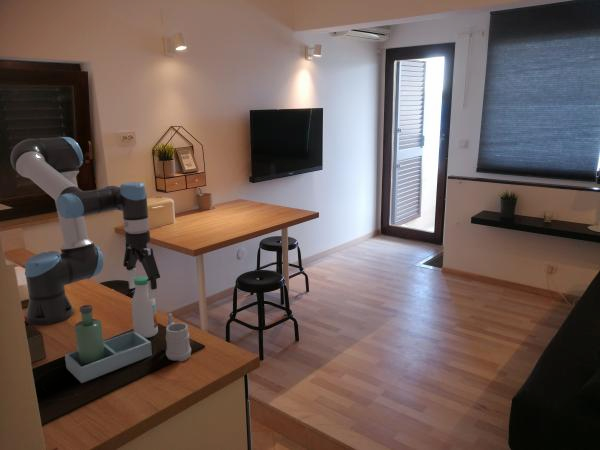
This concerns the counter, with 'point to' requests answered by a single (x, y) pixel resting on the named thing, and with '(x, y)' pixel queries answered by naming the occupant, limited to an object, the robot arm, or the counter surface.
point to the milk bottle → (144, 309)
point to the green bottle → (89, 337)
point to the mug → (177, 340)
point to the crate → (111, 356)
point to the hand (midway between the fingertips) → (143, 292)
